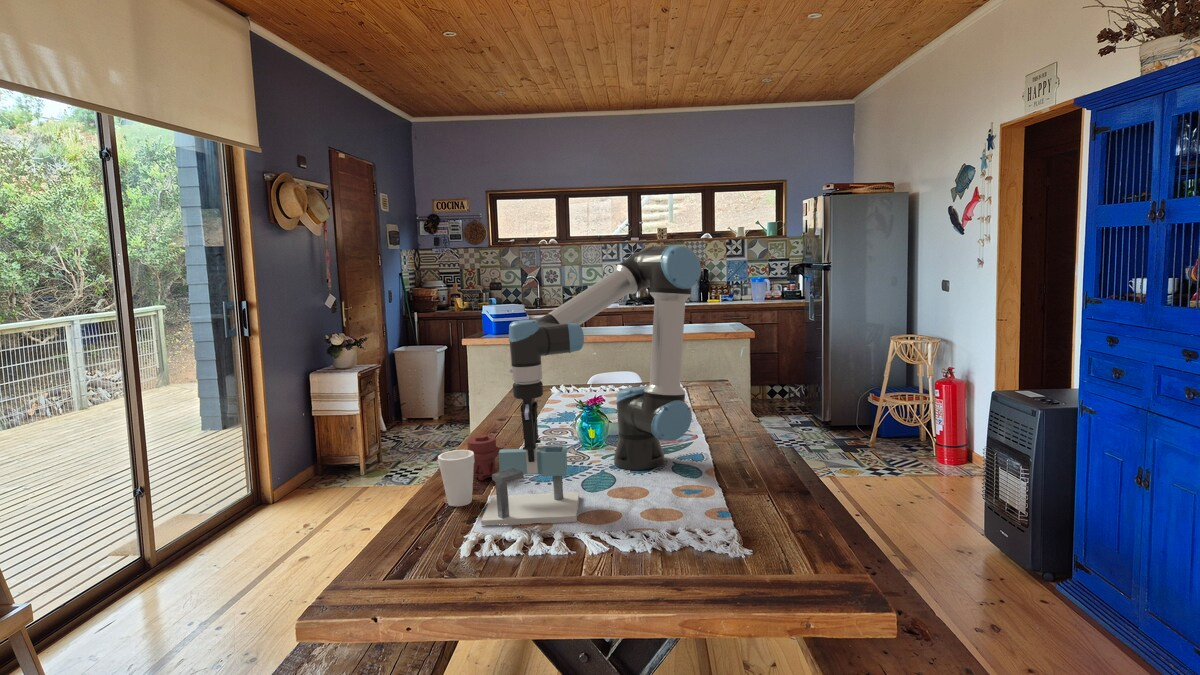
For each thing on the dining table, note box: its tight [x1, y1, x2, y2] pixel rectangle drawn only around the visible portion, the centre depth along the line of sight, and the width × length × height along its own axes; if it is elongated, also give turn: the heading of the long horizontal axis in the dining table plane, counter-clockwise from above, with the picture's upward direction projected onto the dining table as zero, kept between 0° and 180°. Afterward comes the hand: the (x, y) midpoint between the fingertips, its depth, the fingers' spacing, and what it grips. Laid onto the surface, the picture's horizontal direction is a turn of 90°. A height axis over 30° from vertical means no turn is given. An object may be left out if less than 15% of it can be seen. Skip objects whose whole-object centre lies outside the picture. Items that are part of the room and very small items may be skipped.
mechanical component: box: [466, 433, 500, 481], centre depth 213 cm, size 12×10×10 cm
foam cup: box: [437, 449, 475, 507], centre depth 193 cm, size 10×9×13 cm
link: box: [498, 445, 568, 477], centre depth 186 cm, size 17×6×6 cm, turn 89°
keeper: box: [491, 468, 525, 519], centre depth 178 cm, size 6×4×12 cm
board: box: [480, 476, 580, 526], centre depth 183 cm, size 23×17×8 cm
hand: (533, 470), depth 187 cm, fingers closed on link, 3 cm apart
